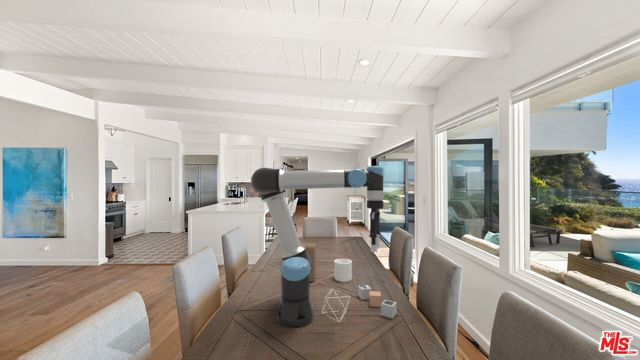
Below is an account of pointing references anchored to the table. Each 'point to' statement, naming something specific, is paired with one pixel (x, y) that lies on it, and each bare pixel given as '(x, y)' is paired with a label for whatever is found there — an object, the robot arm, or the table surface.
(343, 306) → the geometric polyhedron
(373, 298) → the plain cube
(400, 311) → the table surface
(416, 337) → the table surface
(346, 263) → the mug
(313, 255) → the block
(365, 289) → the marked cube
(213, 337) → the table surface
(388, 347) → the table surface
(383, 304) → the marked cube
